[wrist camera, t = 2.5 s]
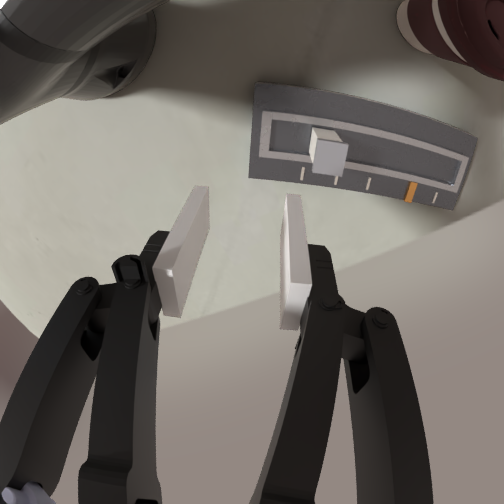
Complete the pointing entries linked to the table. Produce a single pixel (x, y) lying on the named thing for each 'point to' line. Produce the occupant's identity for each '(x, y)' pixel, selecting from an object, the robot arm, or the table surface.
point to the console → (358, 145)
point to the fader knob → (327, 152)
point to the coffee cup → (457, 31)
